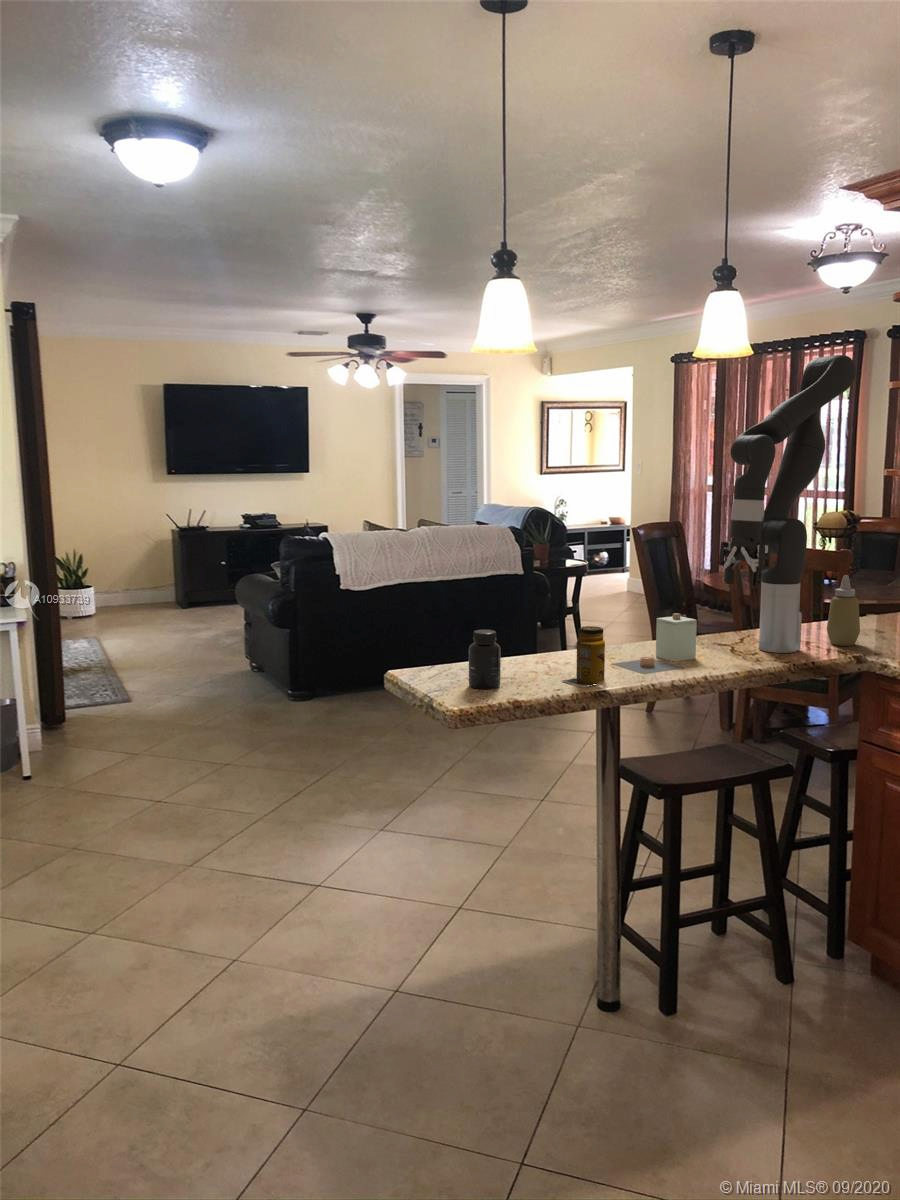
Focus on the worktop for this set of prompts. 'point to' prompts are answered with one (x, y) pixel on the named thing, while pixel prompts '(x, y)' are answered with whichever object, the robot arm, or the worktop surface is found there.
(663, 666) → the mat
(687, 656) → the lidded square canister
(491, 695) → the worktop surface
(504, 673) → the worktop surface
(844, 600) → the squeeze bottle
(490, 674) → the supplement bottle
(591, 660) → the condiment
